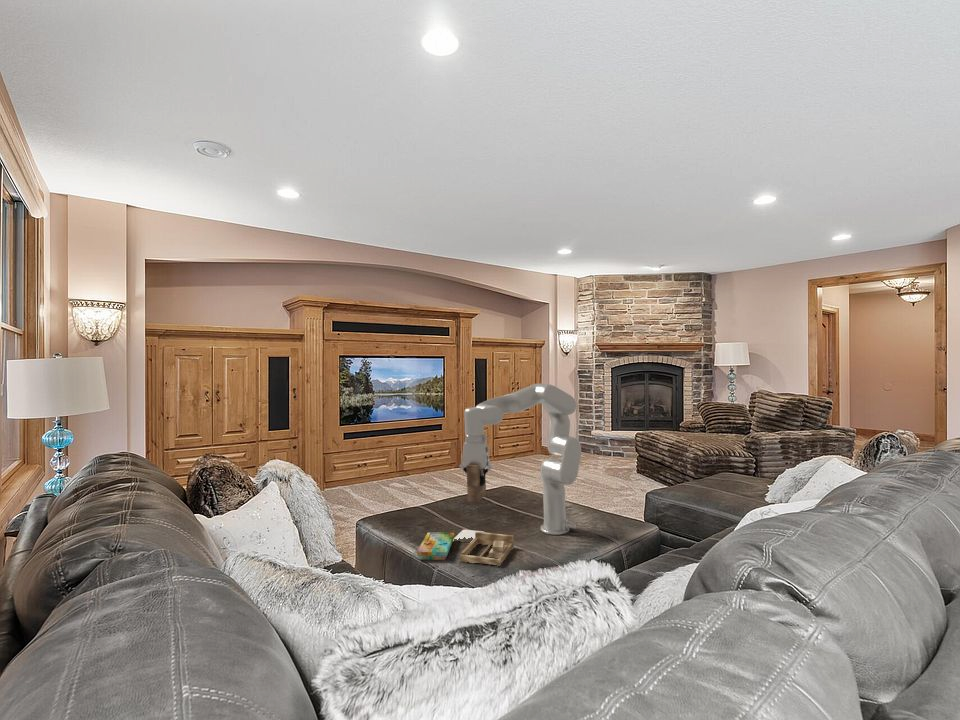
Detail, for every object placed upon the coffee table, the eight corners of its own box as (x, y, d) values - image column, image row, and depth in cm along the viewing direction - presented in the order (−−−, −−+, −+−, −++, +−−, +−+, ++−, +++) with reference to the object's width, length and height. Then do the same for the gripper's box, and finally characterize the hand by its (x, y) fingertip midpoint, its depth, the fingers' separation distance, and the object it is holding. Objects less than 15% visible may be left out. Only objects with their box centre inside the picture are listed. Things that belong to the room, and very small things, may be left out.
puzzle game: (416, 549, 199) (427, 530, 218) (417, 561, 199) (427, 541, 219) (446, 549, 197) (454, 530, 217) (447, 561, 198) (455, 541, 217)
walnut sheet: (486, 494, 207) (484, 460, 207) (477, 502, 198) (476, 466, 197) (476, 493, 209) (475, 459, 208) (467, 501, 199) (466, 465, 199)
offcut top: (503, 545, 204) (503, 540, 204) (502, 552, 198) (502, 547, 198) (493, 545, 205) (493, 540, 205) (492, 552, 199) (492, 547, 198)
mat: (484, 532, 226) (484, 531, 226) (474, 543, 214) (473, 542, 214) (463, 530, 229) (463, 529, 229) (451, 541, 217) (451, 540, 217)
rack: (513, 547, 208) (513, 535, 208) (499, 566, 191) (499, 553, 191) (476, 543, 214) (476, 531, 214) (459, 561, 197) (459, 548, 197)
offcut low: (507, 553, 205) (507, 545, 204) (501, 561, 197) (501, 553, 197) (495, 551, 206) (495, 544, 206) (489, 560, 199) (489, 552, 198)
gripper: (497, 437, 203) (499, 483, 204) (458, 436, 209) (460, 480, 210) (491, 441, 196) (493, 488, 197) (451, 440, 202) (453, 486, 203)
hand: (476, 484), depth 203 cm, fingers closed on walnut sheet, 4 cm apart
